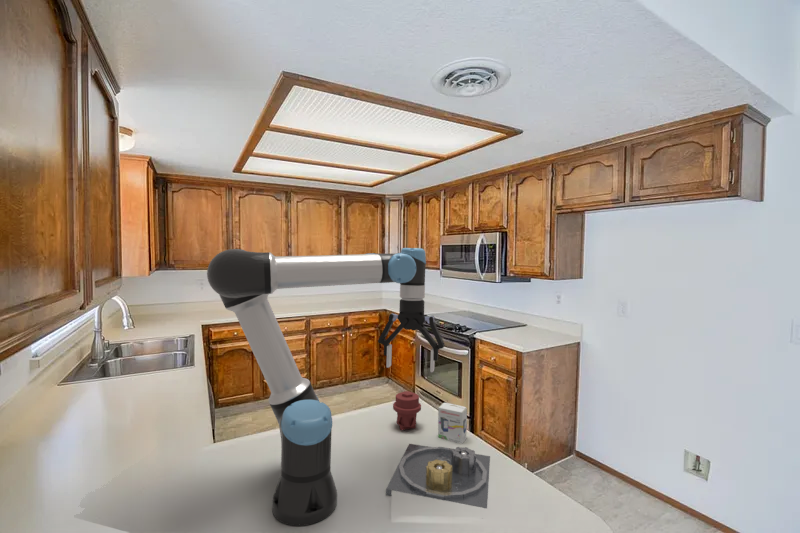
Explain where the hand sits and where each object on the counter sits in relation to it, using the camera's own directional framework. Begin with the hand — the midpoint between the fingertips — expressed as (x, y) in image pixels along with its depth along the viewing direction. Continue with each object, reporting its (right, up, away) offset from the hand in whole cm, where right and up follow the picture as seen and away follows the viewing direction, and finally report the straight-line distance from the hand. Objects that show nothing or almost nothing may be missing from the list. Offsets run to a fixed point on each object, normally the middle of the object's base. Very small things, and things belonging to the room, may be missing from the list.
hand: (410, 368), depth 115 cm
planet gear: (+7, -26, -16) cm, 31 cm away
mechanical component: (-1, -27, +20) cm, 34 cm away
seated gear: (+15, -26, -9) cm, 31 cm away
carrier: (+9, -27, -10) cm, 30 cm away
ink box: (+14, -27, +10) cm, 32 cm away
